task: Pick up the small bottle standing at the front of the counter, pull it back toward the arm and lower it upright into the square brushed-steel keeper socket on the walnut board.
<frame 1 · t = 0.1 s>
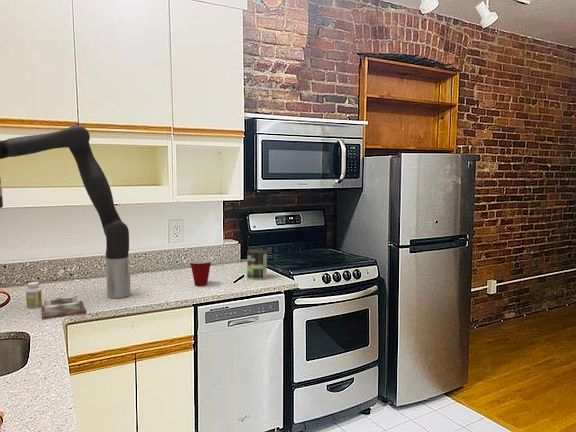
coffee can: (257, 278, 234), on the worktop
plastic cup: (201, 285, 219), on the worktop
keeper: (61, 310, 178), on the worktop
supplement bottle: (34, 307, 183), on the worktop
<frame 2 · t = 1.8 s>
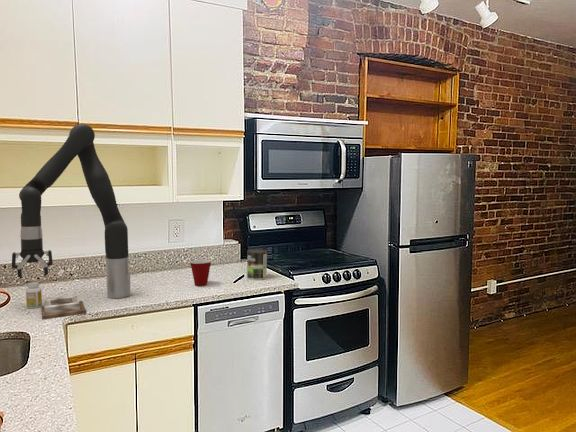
hand: (33, 277, 182), 12 cm above the worktop, tool pointing down, fingers open, 8 cm apart
nothing on the worktop moved.
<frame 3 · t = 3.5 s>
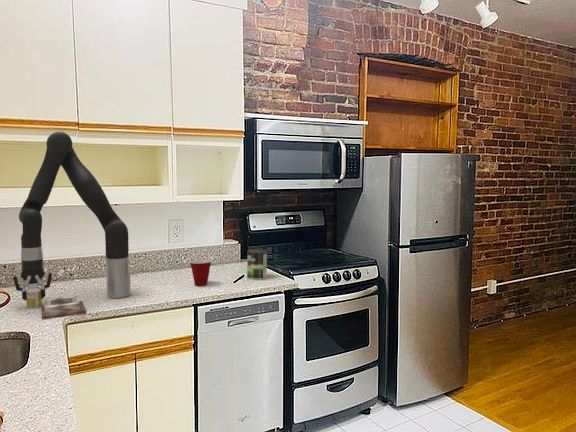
hand: (33, 299, 183), 3 cm above the worktop, tool pointing down, fingers closed on supplement bottle, 5 cm apart
supplement bottle: (34, 307, 183), on the worktop, touching gripper
everything else where it was.
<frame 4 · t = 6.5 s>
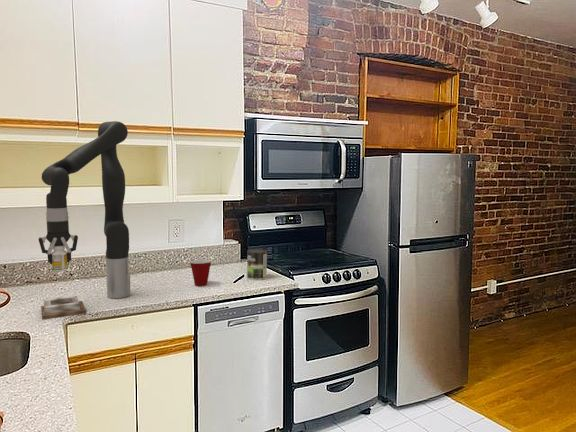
hand: (59, 262, 176), 19 cm above the worktop, tool pointing down, fingers closed on supplement bottle, 5 cm apart
supplement bottle: (60, 270, 177), point 16 cm above the worktop, touching gripper
everything else where it was.
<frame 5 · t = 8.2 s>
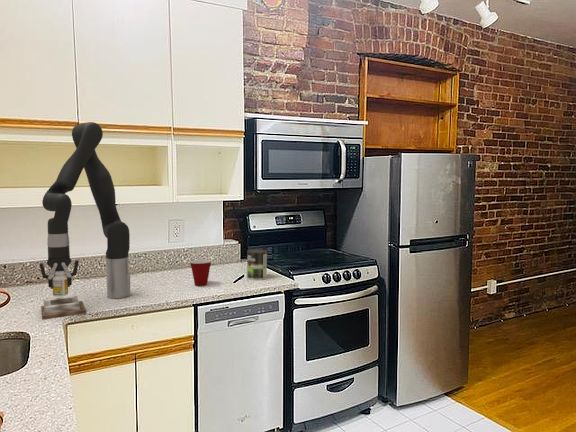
hand: (60, 287, 177), 9 cm above the worktop, tool pointing down, fingers closed on supplement bottle, 5 cm apart
supplement bottle: (60, 295, 178), point 6 cm above the worktop, touching gripper
everything else where it was.
when the fingers open (6 cm above the worktop, at t = 9.5 s): supplement bottle drops 1 cm, resting on keeper.
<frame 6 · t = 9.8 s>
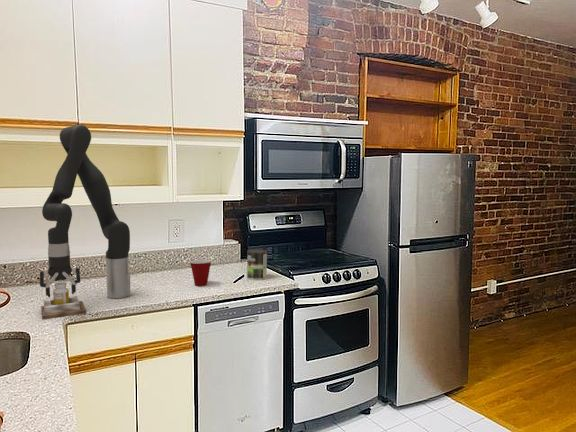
hand: (61, 295, 178), 6 cm above the worktop, tool pointing down, fingers open, 8 cm apart
supplement bottle: (61, 308, 178), point 1 cm above the worktop, touching keeper
everything else where it was.
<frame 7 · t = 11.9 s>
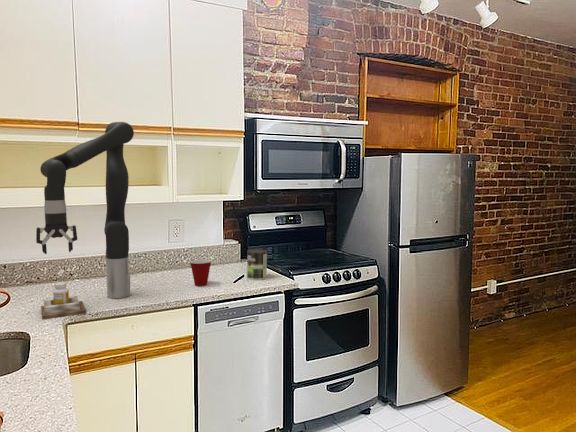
hand: (57, 252, 178), 23 cm above the worktop, tool pointing down, fingers open, 8 cm apart
nothing on the worktop moved.
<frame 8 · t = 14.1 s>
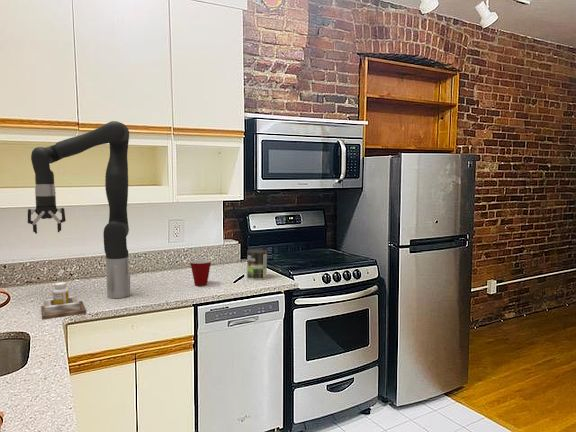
hand: (47, 232, 194), 28 cm above the worktop, tool pointing down, fingers open, 8 cm apart
nothing on the worktop moved.
at the end: supplement bottle 0.0 cm off-centre on the keeper, point 1.0 cm above the keeper's base; supplement bottle tilted 0°; the gripper is holding nothing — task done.
